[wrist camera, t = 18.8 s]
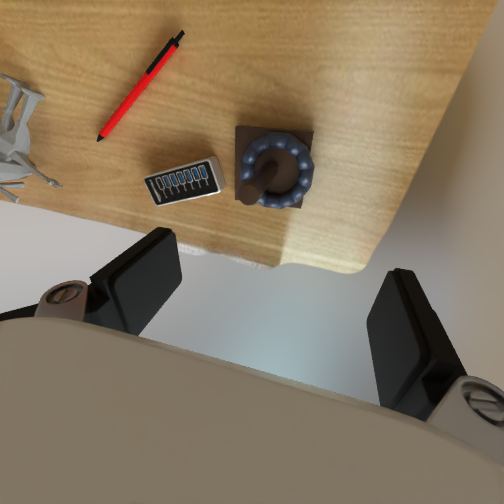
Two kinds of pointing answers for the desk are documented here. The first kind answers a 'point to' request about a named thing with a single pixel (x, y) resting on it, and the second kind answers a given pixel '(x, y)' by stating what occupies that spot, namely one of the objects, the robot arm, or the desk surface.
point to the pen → (141, 84)
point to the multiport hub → (185, 181)
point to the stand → (267, 166)
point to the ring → (291, 146)
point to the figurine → (17, 138)
